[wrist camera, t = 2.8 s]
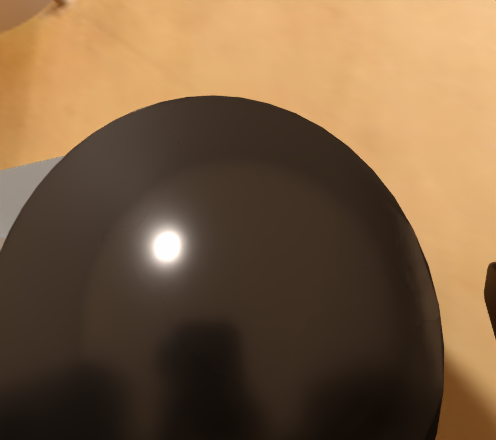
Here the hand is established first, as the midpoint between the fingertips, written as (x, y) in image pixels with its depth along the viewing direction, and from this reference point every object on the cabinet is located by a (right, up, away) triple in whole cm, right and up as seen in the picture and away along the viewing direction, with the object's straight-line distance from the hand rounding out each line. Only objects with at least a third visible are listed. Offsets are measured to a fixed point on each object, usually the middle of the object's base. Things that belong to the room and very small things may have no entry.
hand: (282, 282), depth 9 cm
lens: (+2, -2, +7) cm, 7 cm away
